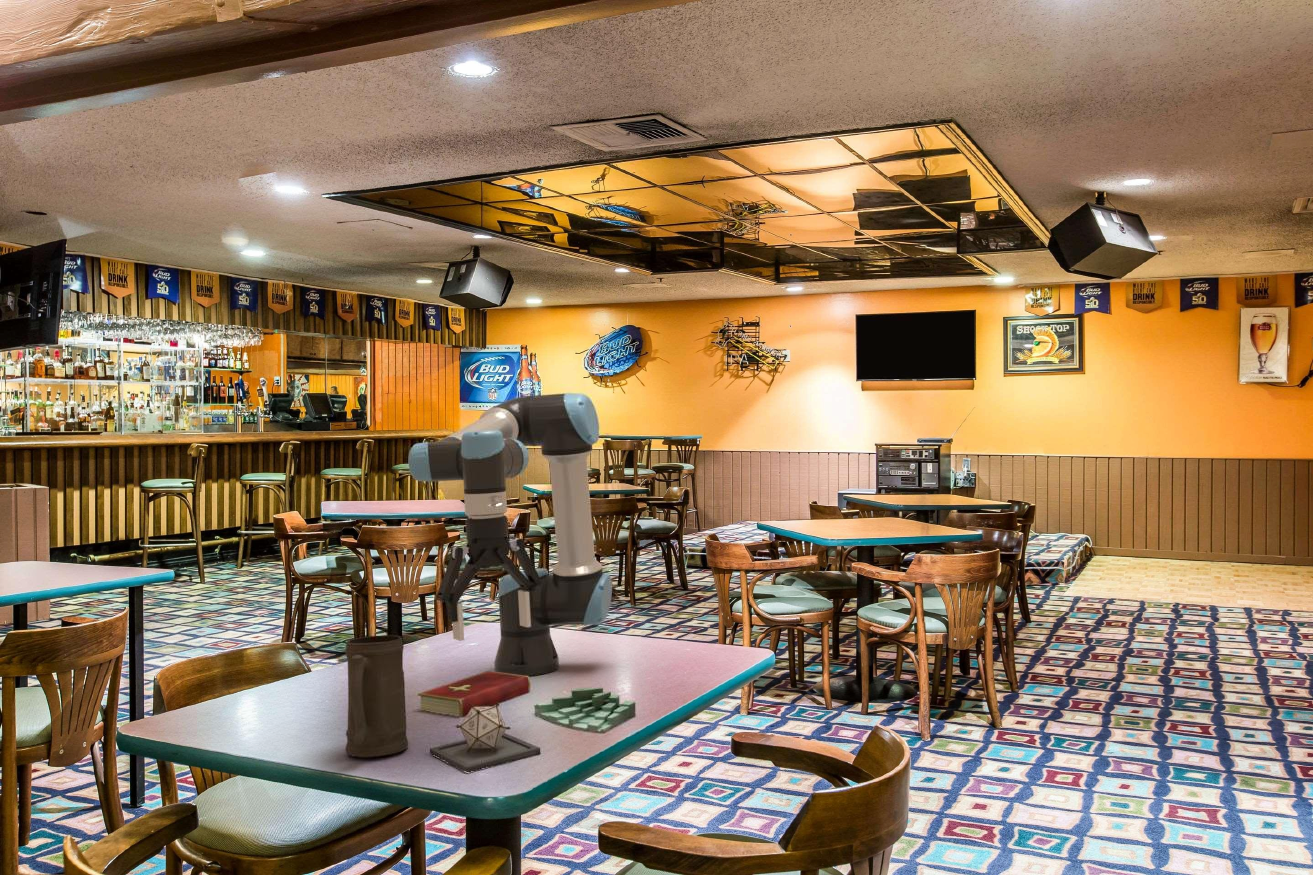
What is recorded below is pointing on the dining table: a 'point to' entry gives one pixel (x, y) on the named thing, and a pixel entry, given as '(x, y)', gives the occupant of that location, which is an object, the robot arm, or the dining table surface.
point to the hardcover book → (474, 692)
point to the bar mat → (485, 753)
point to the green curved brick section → (587, 710)
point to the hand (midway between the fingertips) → (492, 632)
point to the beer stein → (376, 696)
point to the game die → (483, 727)
